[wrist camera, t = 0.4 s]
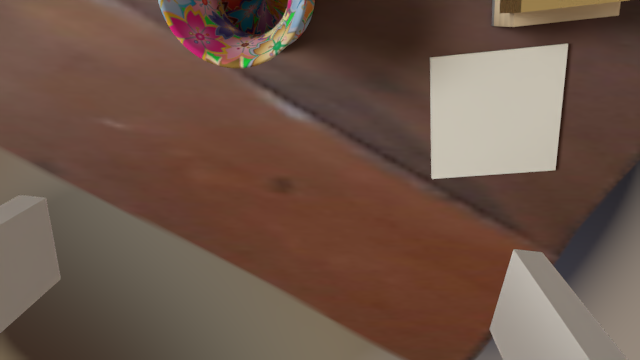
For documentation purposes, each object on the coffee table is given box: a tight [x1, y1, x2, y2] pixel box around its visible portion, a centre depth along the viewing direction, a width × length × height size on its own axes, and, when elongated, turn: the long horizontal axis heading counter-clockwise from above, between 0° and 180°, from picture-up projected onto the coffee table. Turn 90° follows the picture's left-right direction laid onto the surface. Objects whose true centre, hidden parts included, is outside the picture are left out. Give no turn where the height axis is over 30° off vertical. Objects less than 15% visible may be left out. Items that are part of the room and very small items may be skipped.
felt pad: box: [430, 44, 568, 179], centre depth 36 cm, size 11×11×1 cm
